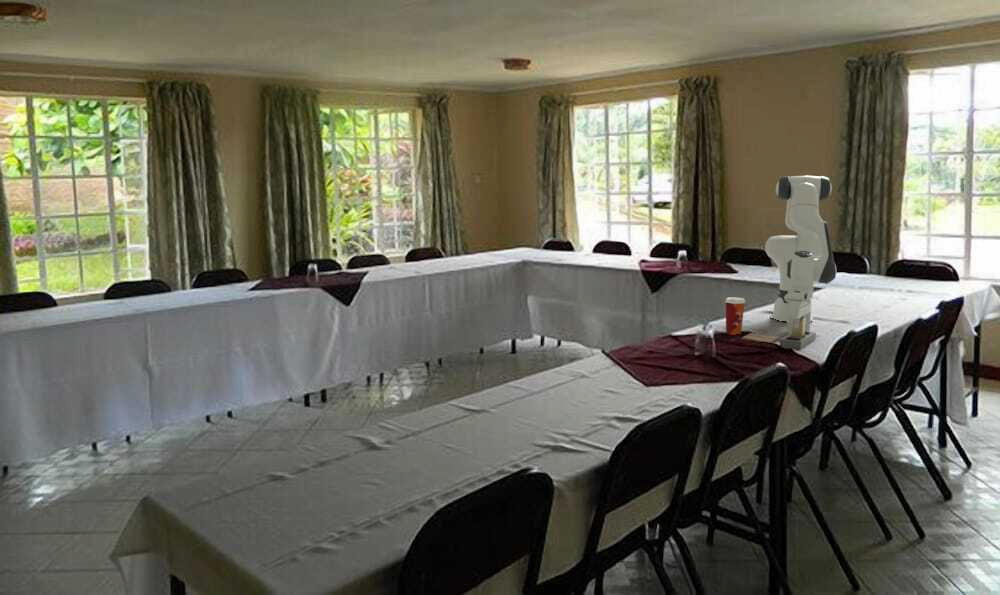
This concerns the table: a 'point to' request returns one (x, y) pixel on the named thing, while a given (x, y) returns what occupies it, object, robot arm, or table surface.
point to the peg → (801, 330)
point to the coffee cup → (734, 315)
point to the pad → (760, 338)
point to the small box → (807, 325)
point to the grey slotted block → (797, 340)
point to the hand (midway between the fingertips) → (798, 327)
